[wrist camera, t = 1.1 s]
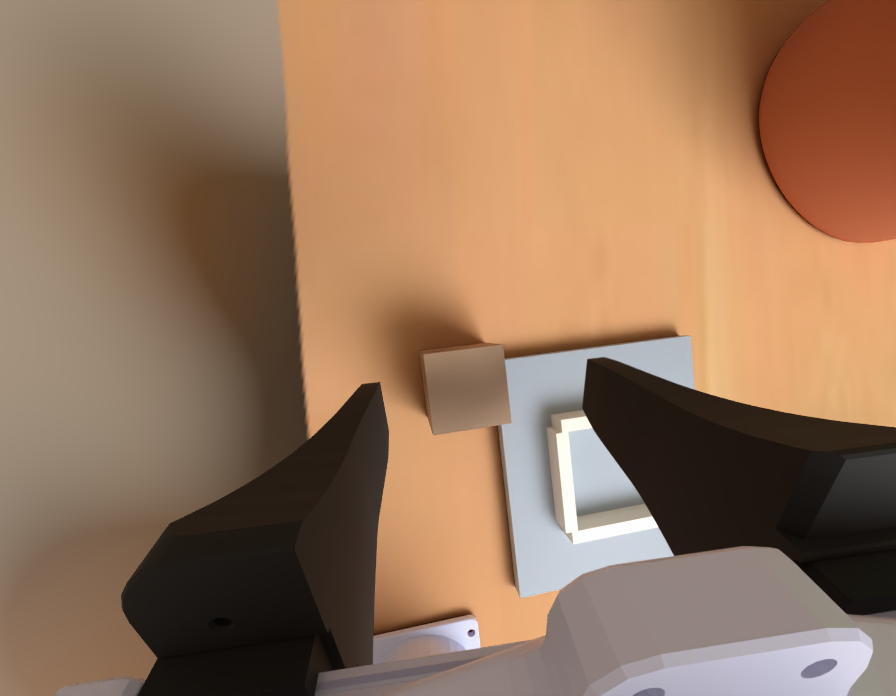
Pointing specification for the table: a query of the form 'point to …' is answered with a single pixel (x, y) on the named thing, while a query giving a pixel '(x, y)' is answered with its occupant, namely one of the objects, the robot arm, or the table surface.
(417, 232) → the table surface
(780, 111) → the potted cactus
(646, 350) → the base plate
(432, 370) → the brown cube
